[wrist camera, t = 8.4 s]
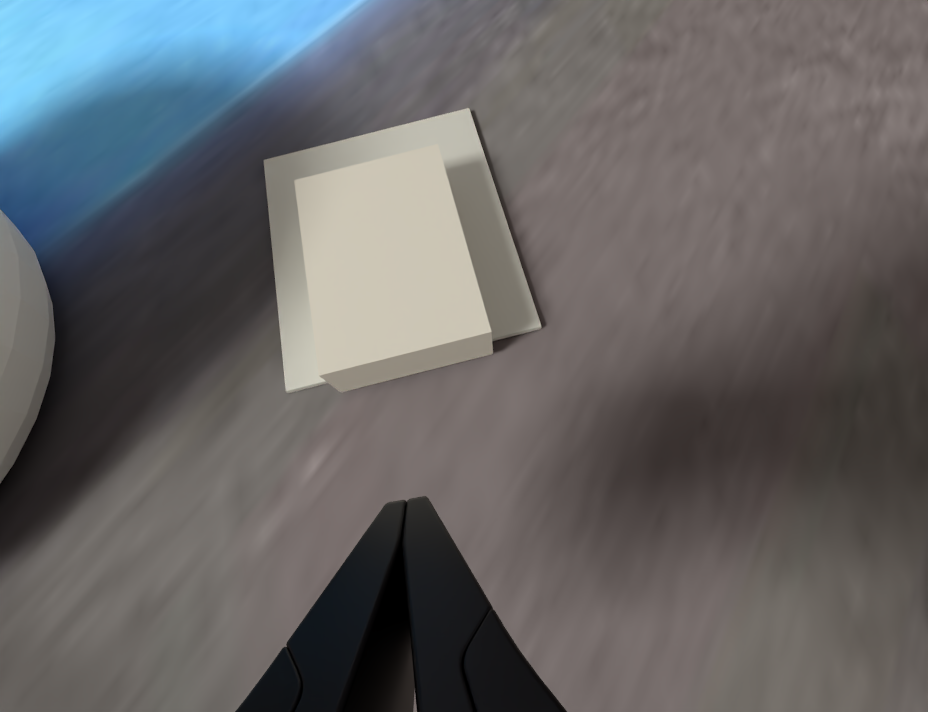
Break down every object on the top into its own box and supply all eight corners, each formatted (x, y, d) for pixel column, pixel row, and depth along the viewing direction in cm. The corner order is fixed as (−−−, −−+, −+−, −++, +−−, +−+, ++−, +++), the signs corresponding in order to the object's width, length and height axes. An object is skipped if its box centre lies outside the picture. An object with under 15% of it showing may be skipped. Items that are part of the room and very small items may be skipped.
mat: (540, 328, 20) (541, 326, 20) (289, 393, 20) (285, 391, 20) (469, 112, 25) (469, 107, 25) (266, 164, 25) (263, 160, 25)
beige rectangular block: (491, 331, 17) (437, 143, 21) (318, 375, 17) (294, 180, 21) (493, 355, 20) (445, 183, 23) (342, 393, 20) (316, 216, 23)
